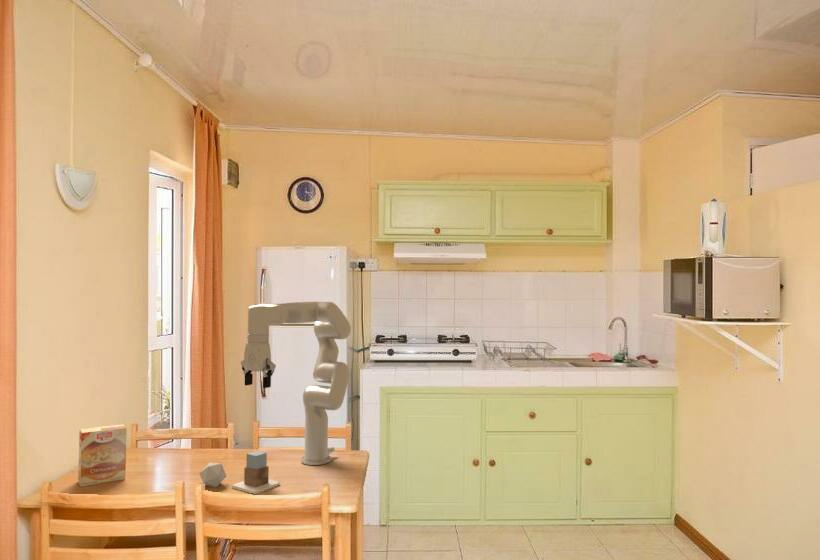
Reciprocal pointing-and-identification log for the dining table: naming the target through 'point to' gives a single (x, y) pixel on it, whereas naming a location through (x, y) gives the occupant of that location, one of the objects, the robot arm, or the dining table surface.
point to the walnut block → (256, 476)
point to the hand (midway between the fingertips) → (257, 386)
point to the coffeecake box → (102, 454)
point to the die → (213, 474)
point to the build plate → (258, 489)
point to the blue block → (256, 460)
